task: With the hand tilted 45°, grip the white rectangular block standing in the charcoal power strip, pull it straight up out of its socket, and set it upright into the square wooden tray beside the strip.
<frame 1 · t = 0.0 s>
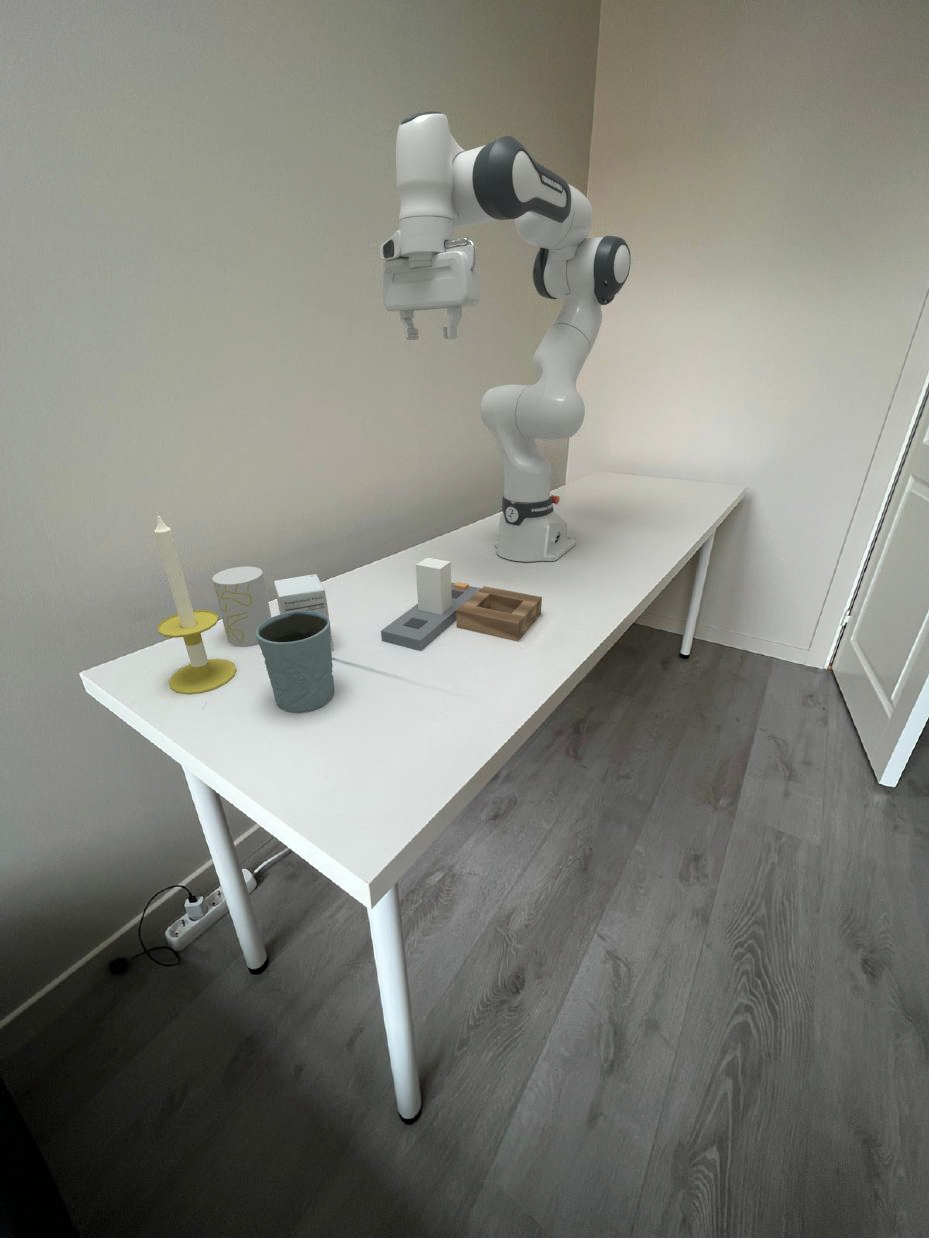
hand: (430, 339, 93), 48 cm above the table, tool pointing down, fingers open, 8 cm apart
power strip: (435, 622, 102), on the table
cup: (251, 636, 98), on the table
supplement box: (310, 651, 93), on the table
square wooden tray: (499, 625, 100), on the table
candle: (203, 677, 86), on the table
white rectangular block: (435, 617, 101), point 1 cm above the table, touching power strip
teal plant pot: (305, 696, 81), on the table
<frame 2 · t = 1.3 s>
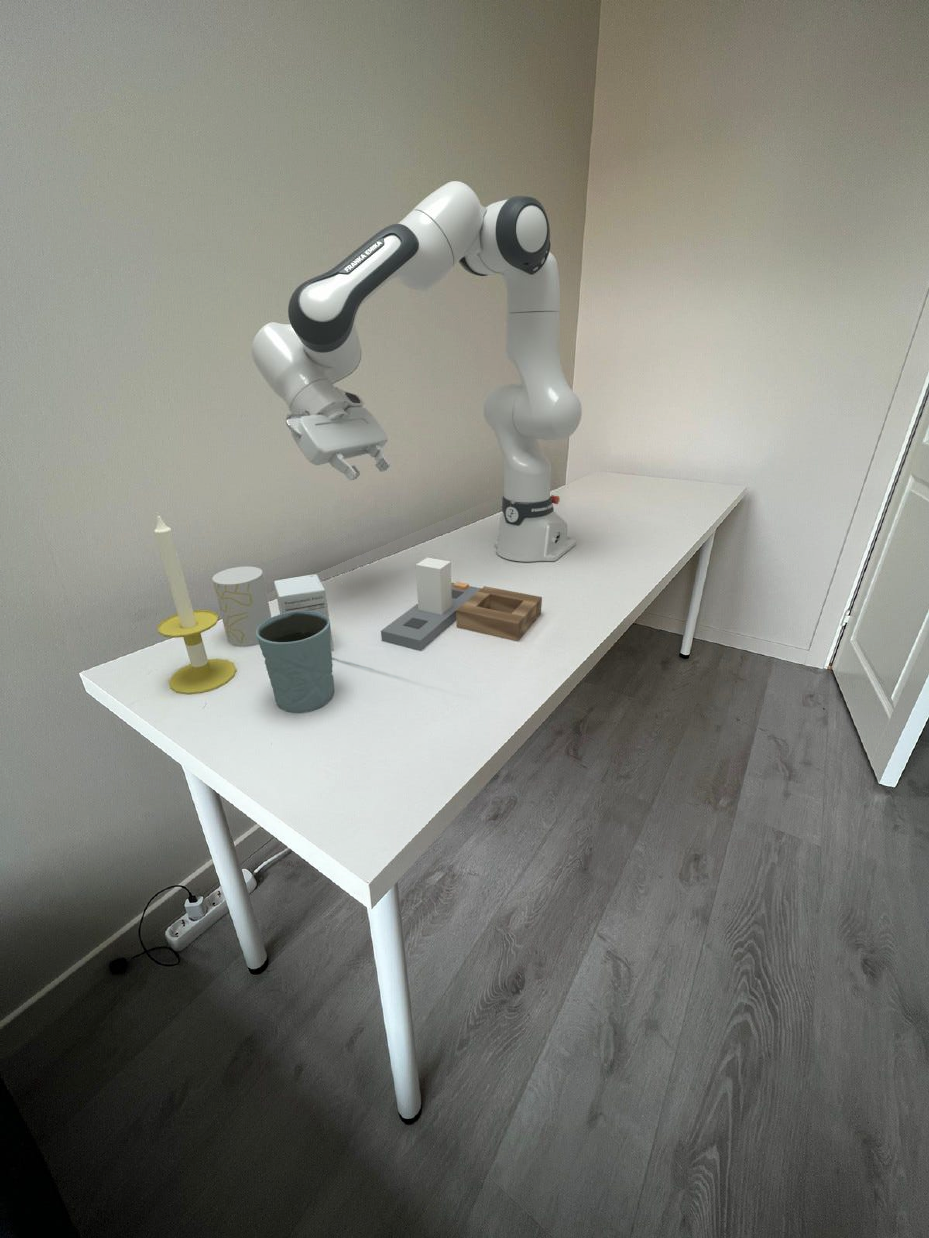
hand: (371, 473, 94), 27 cm above the table, tool tilted 45°, fingers open, 8 cm apart
nothing on the table moved.
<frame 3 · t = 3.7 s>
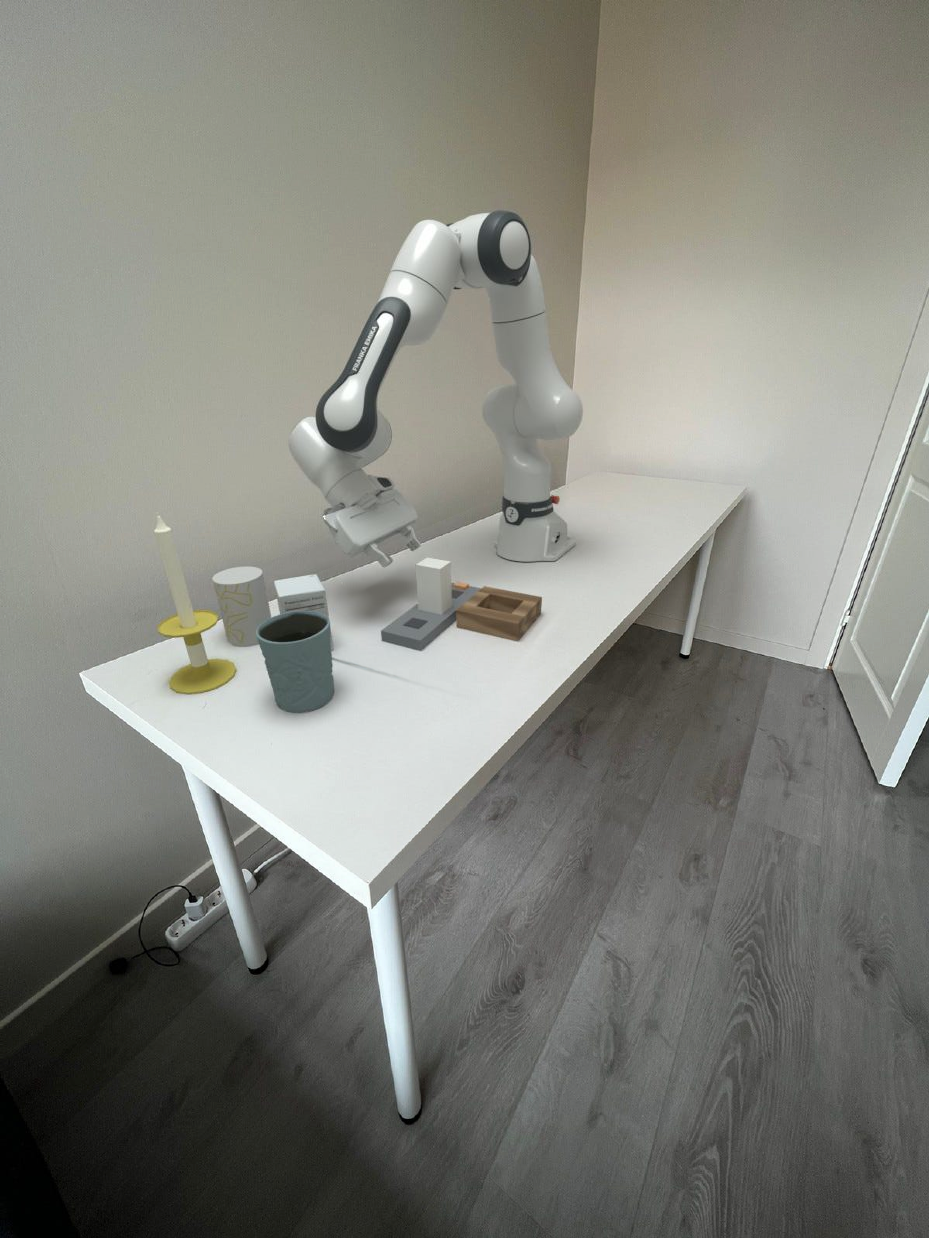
hand: (403, 556, 99), 12 cm above the table, tool tilted 45°, fingers open, 8 cm apart
nothing on the table moved.
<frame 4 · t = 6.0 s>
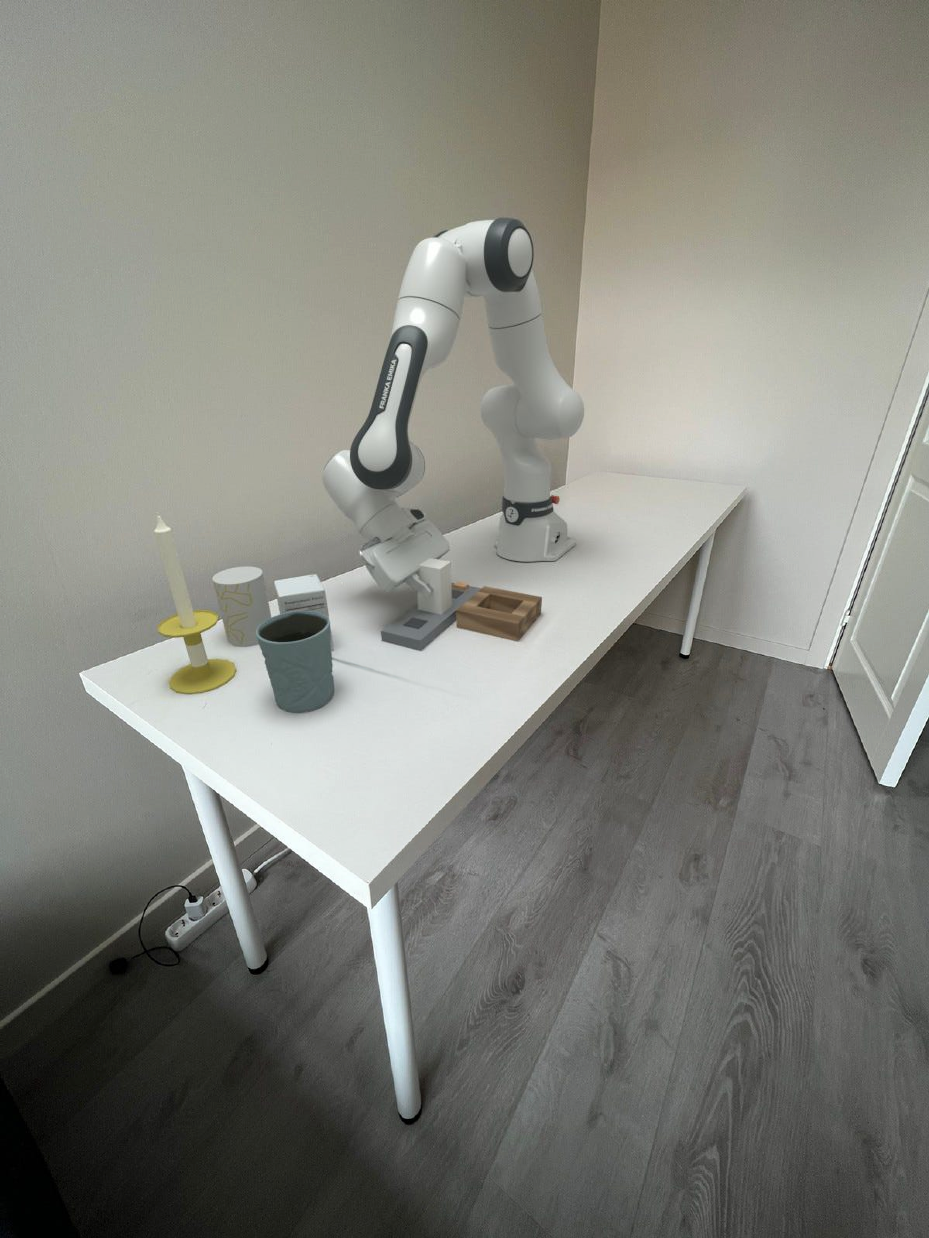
hand: (437, 589, 98), 7 cm above the table, tool tilted 45°, fingers closed on white rectangular block, 4 cm apart
white rectangular block: (435, 617, 101), point 1 cm above the table, touching gripper, power strip
everything else where it was.
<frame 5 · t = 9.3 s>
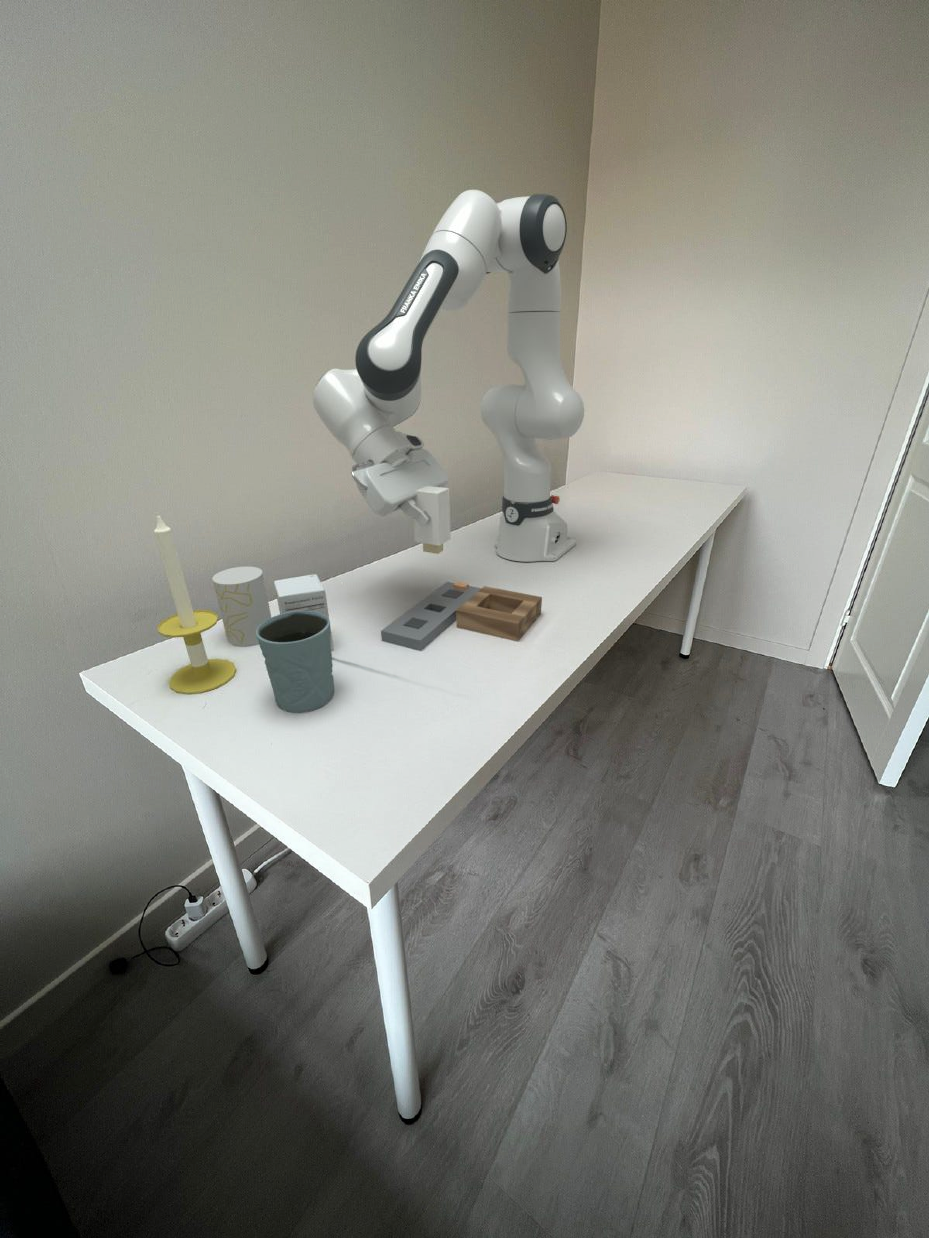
hand: (435, 518, 92), 20 cm above the table, tool tilted 45°, fingers closed on white rectangular block, 4 cm apart
white rectangular block: (433, 551, 95), point 14 cm above the table, touching gripper
everything else where it was.
when the fingers open (8 cm above the table, at t = 12.9 s): white rectangular block stays where it is, resting on square wooden tray.
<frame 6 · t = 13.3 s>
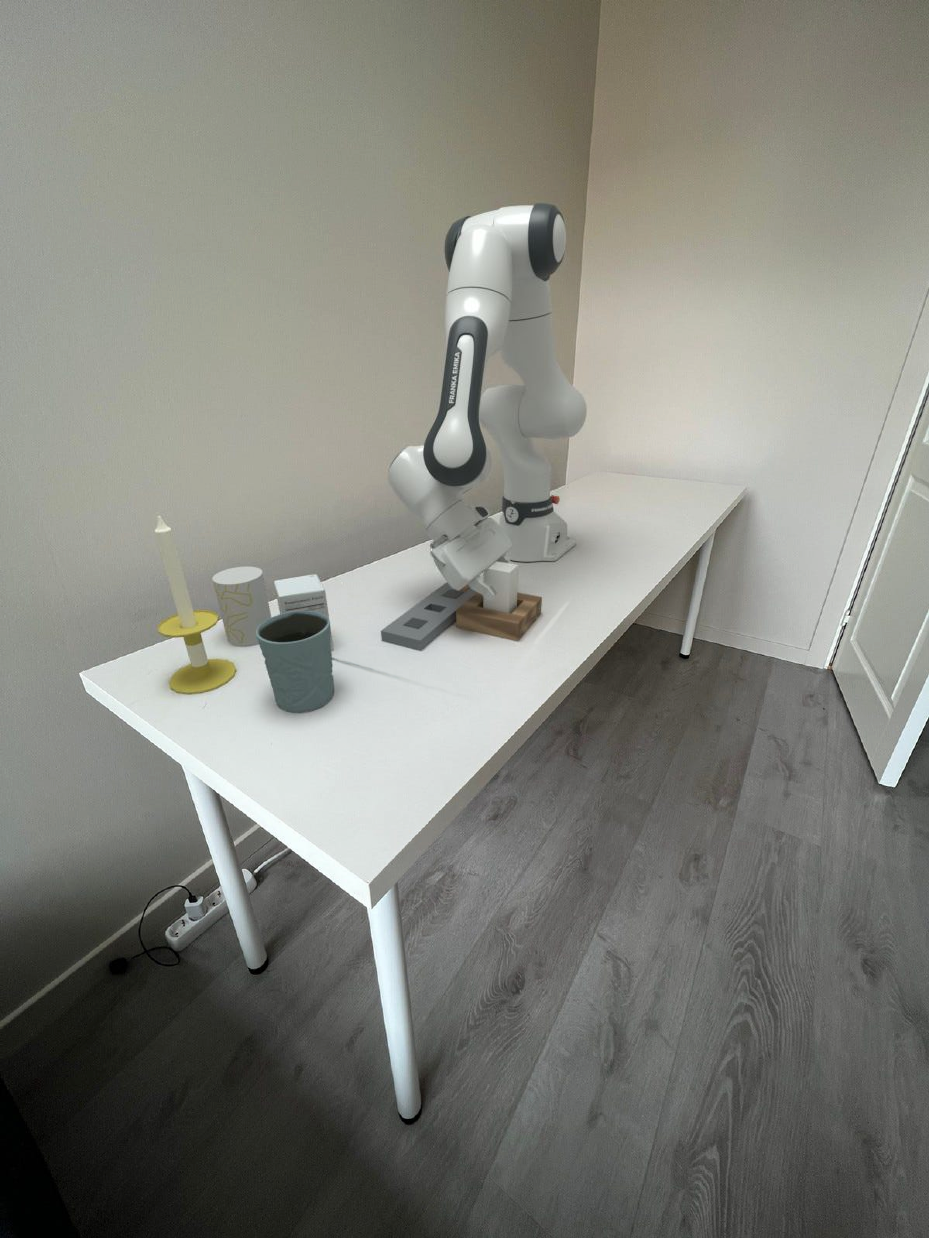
hand: (503, 587, 97), 8 cm above the table, tool tilted 45°, fingers open, 8 cm apart
white rectangular block: (499, 621, 100), point 1 cm above the table, touching square wooden tray
everything else where it was.
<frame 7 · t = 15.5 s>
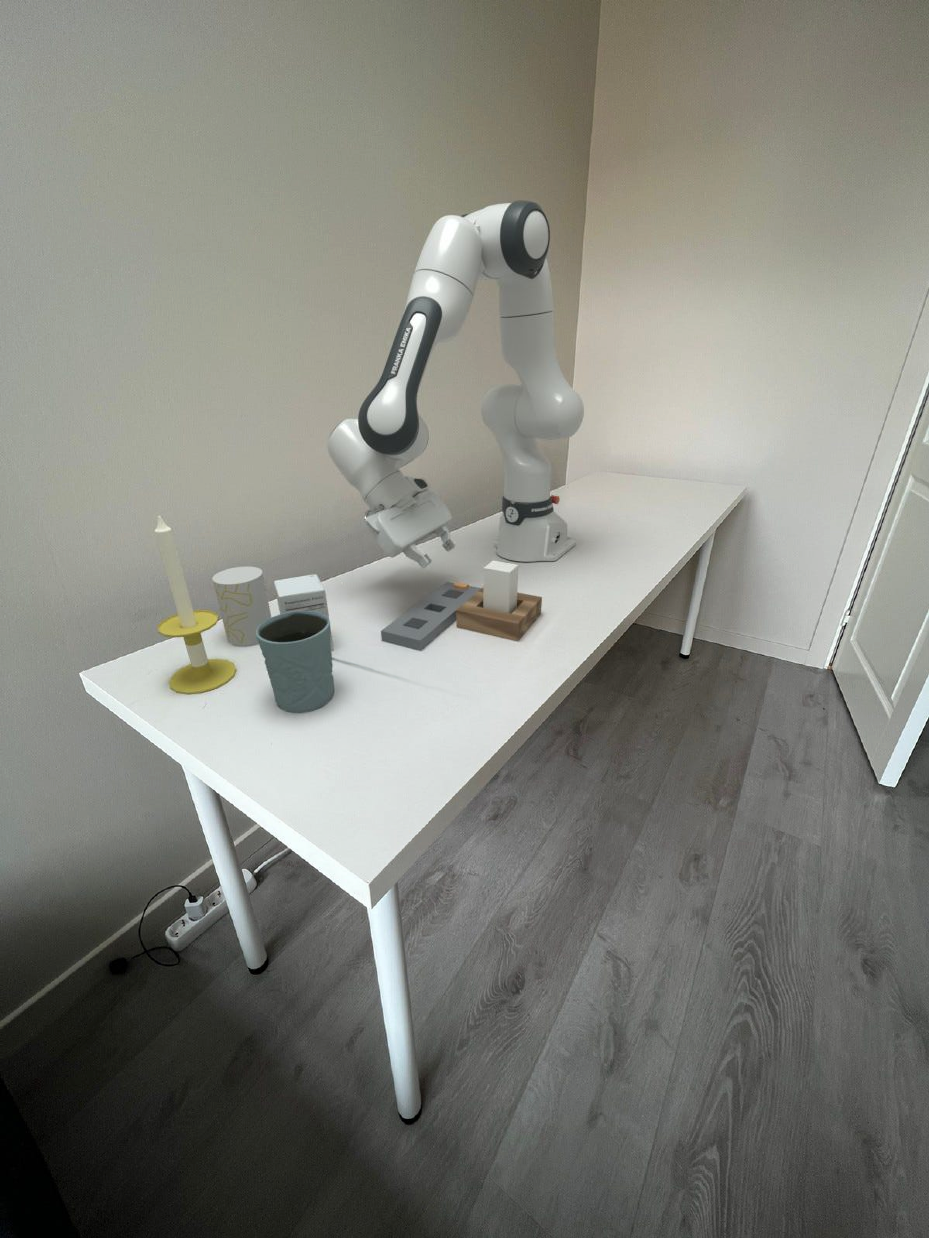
hand: (440, 556, 100), 12 cm above the table, tool tilted 45°, fingers open, 8 cm apart
nothing on the table moved.
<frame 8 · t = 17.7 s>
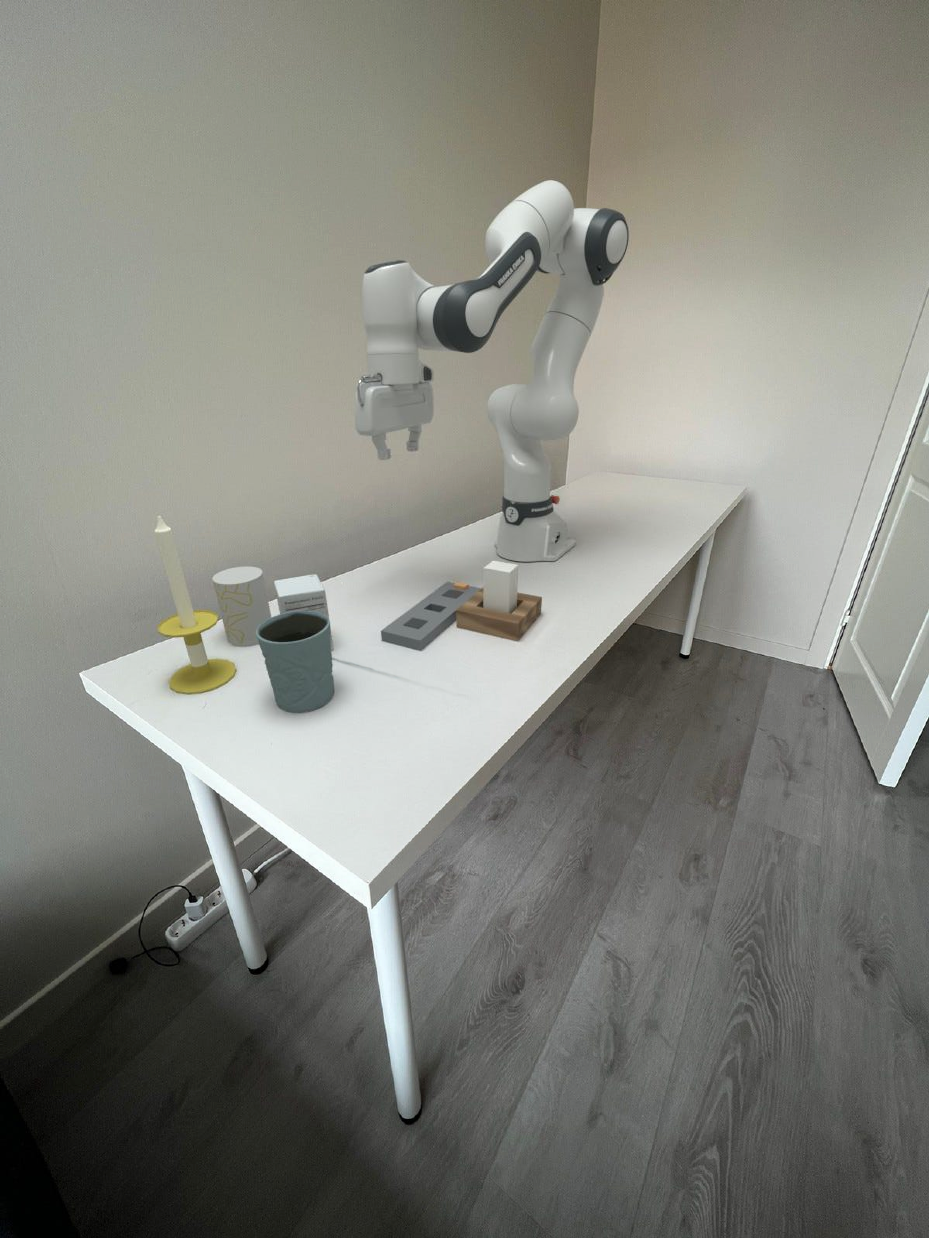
hand: (399, 455, 98), 29 cm above the table, tool pointing down, fingers open, 8 cm apart
nothing on the table moved.
at the end: white rectangular block 0.0 cm off-centre on the square wooden tray, point 0.8 cm above the square wooden tray's base; white rectangular block tilted 0°; the gripper is holding nothing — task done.
